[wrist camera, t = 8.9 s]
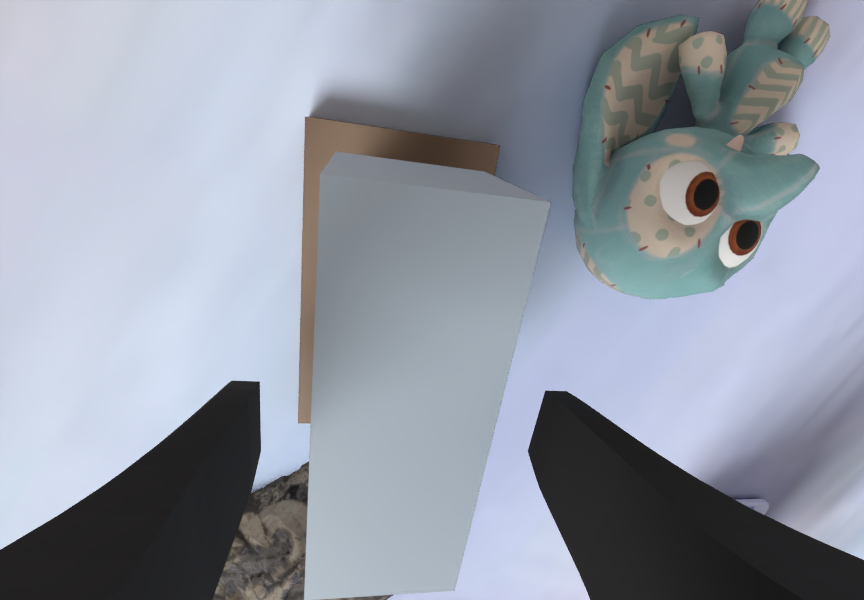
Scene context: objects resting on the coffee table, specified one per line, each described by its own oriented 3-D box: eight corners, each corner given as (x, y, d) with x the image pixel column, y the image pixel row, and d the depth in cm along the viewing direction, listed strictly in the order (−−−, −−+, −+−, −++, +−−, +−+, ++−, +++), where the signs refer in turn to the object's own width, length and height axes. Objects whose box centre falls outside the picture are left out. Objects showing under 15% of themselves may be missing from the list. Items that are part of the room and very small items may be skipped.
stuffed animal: (1031, 78, 13) (802, 394, 14) (789, 116, 20) (644, 328, 21) (883, -241, 9) (583, 218, 10) (647, -61, 16) (478, 207, 17)
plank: (484, 171, 13) (551, 202, 8) (430, 467, 18) (454, 590, 13) (335, 151, 12) (320, 173, 8) (319, 468, 17) (304, 600, 12)
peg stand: (492, 144, 17) (528, 152, 13) (442, 411, 21) (459, 472, 18) (308, 116, 15) (291, 117, 12) (300, 409, 20) (287, 474, 16)
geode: (99, 621, 24) (333, 660, 29) (55, 705, 21) (329, 734, 26) (231, 374, 20) (485, 472, 25) (203, 430, 16) (506, 531, 21)
